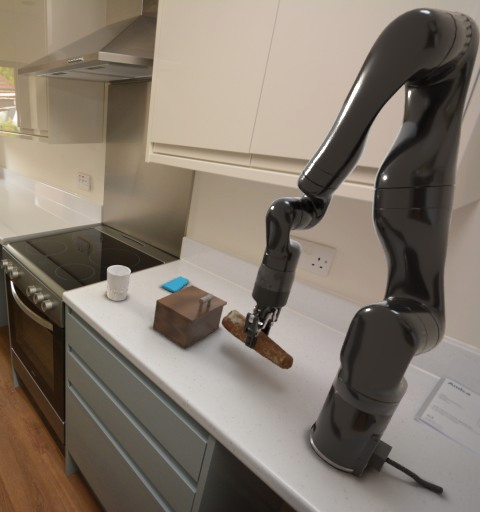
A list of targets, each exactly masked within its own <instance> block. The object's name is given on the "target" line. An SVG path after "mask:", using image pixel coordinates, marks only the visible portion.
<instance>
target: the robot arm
mask: <svg viewBox="0 0 480 512" xmlns="http://www.w3.org/2000/svg"><path fill="white" fill-rule="evenodd" d="M479 47H480V27H479V25H478V22H477V20H476V19H474V18H473V17H472V16H471V15H469V14H466V13H463V12H459V11H452V10H445V9H439V8H433V7H417V8H413V9H410V10H407V11H406V12H403V13H401V14H399V15H398V16H396V18H394V19H393V20H392V21H390V22H389V23H388V24H387V25H386V26H385V27H384V29H383V30H382V31H381V32H380V33H379V35H378V36H377V38H376V40H374V42H373V44H372V46H371V48H370V49H369V51H368V53H367V55H366V57H365V59H364V60H363V63H362V65H361V67H360V69H359V71H358V73H357V75H356V77H355V79H354V82H353V84H351V87H350V88H349V91H348V93H347V95H346V97H345V99H344V101H343V103H342V105H341V106H340V109H339V111H338V113H337V115H336V117H335V119H334V121H333V123H332V125H331V127H330V129H329V130H328V132H327V134H326V135H325V137H324V139H323V140H322V142H321V143H320V145H319V146H318V148H317V150H315V152H314V153H313V155H312V157H311V158H310V159H309V161H308V162H307V163H306V165H305V166H304V168H303V170H302V171H301V173H300V174H299V176H298V177H297V180H296V185H297V188H298V189H299V191H300V192H302V193H303V194H302V195H301V196H300V197H299V196H297V197H294V196H293V197H289V196H288V197H279V198H276V199H274V200H273V201H272V202H271V203H270V204H269V206H268V208H267V210H266V212H265V247H264V252H263V256H262V258H261V259H262V260H261V263H260V264H259V265H260V266H259V267H258V271H257V273H256V278H255V281H254V284H253V288H252V293H251V297H252V299H253V301H255V305H254V307H253V309H252V313H251V312H247V313H246V315H245V317H246V321H245V326H244V331H243V333H245V334H247V338H246V341H245V343H244V345H245V347H247V348H248V349H250V350H253V348H255V345H256V341H257V338H258V336H259V333H260V331H263V332H264V333H265V334H266V335H267V336H268V337H269V335H270V331H271V329H272V327H274V324H275V323H277V322H278V319H279V316H280V314H281V311H282V310H283V309H282V308H284V307H286V305H287V304H288V300H289V297H290V294H291V291H292V288H293V285H294V281H295V277H296V272H297V268H298V265H299V261H300V258H301V256H302V250H303V248H302V244H301V243H300V242H298V241H296V240H294V239H291V232H295V231H297V232H298V231H309V230H311V229H314V228H315V227H316V226H318V225H319V224H320V223H321V222H322V221H323V219H324V218H325V216H326V214H327V212H328V209H329V207H330V205H331V203H332V201H333V198H334V196H335V193H336V192H337V191H338V189H339V188H340V187H341V186H342V185H343V184H344V182H345V181H346V180H347V179H348V177H350V175H351V174H352V173H353V171H354V170H355V169H356V167H357V166H358V165H359V163H360V161H361V159H362V157H363V155H364V154H365V153H364V152H365V150H366V147H367V144H368V140H369V137H370V133H371V131H372V128H373V126H374V123H375V121H376V120H377V118H378V116H379V115H380V113H381V112H382V110H383V109H384V107H385V106H386V105H387V103H389V102H390V100H391V99H392V98H393V97H394V95H396V93H398V91H400V89H401V88H402V87H404V103H403V104H404V105H403V115H402V121H401V123H400V128H399V130H398V133H397V135H396V137H395V138H394V141H393V142H392V144H391V146H390V148H389V150H388V151H387V152H386V155H385V156H384V158H383V159H382V161H381V163H380V166H379V167H378V169H377V172H376V174H375V178H374V183H373V191H372V192H373V193H372V195H373V196H372V205H371V207H372V208H371V218H372V225H373V228H374V232H375V235H376V237H377V239H378V242H379V244H380V246H381V249H382V251H383V254H384V257H385V262H386V266H387V269H386V270H387V272H386V273H387V274H386V275H387V276H386V285H385V291H384V296H383V299H382V300H381V301H376V302H373V303H369V304H366V305H364V306H362V307H361V308H360V309H358V310H357V311H356V312H355V314H354V315H353V317H352V319H351V321H350V323H349V325H348V328H347V330H346V334H345V337H344V339H343V342H342V345H341V348H340V351H339V363H340V364H339V367H338V370H337V372H336V375H335V376H334V379H333V381H332V383H331V385H330V388H329V391H328V393H327V395H326V397H325V400H324V402H323V405H322V407H321V409H320V411H319V414H318V416H317V419H316V421H314V423H313V424H312V426H311V427H310V434H309V442H310V445H311V447H312V449H313V450H314V452H315V453H316V454H317V455H318V456H319V457H320V458H321V459H322V460H323V461H325V462H326V463H327V464H329V465H330V466H332V467H334V468H335V469H338V470H340V471H342V472H345V473H351V474H352V475H355V476H356V477H358V478H360V477H361V476H362V474H363V472H364V470H366V468H367V466H369V467H371V468H373V469H374V470H376V471H377V472H379V473H380V472H381V470H382V468H383V467H384V465H385V464H388V465H389V466H392V467H394V468H395V469H397V470H398V471H400V472H402V473H403V474H405V475H407V476H408V477H410V478H411V479H413V480H414V481H415V482H416V483H417V484H419V485H421V486H423V487H425V488H427V489H430V490H432V491H435V492H438V493H440V494H443V492H444V488H443V487H442V486H439V485H436V484H435V483H431V482H429V481H427V480H425V479H423V478H421V477H420V476H419V475H418V474H416V473H415V472H413V471H412V470H410V469H409V468H407V467H405V466H404V465H402V464H400V463H398V462H396V461H395V460H393V459H392V458H390V457H389V455H390V453H391V451H392V449H393V446H391V445H390V444H388V443H387V442H385V441H383V440H381V439H382V437H383V435H384V434H385V431H386V429H387V428H388V426H389V424H390V422H391V420H392V418H393V416H394V414H395V413H396V411H397V408H398V406H399V405H400V403H401V402H402V400H403V398H404V397H405V394H406V393H407V391H408V387H409V386H408V380H407V379H406V376H405V374H406V372H407V369H408V368H409V366H410V363H411V361H412V360H413V359H414V357H417V356H421V355H423V354H426V353H428V352H431V351H433V350H434V349H436V348H438V347H439V345H440V344H441V343H442V341H443V340H444V338H445V335H446V330H447V329H446V327H447V319H446V318H447V317H446V316H447V315H446V314H447V313H446V293H445V275H446V273H445V272H446V262H447V257H448V251H449V243H450V242H449V241H450V233H451V224H452V219H453V212H454V205H455V196H456V187H457V186H456V185H457V170H458V162H459V153H460V147H461V146H460V145H461V136H462V126H463V116H464V112H465V111H464V110H465V106H466V102H467V97H468V93H469V89H470V85H471V81H472V77H473V73H474V68H475V65H476V61H477V57H478V52H479ZM260 323H261V324H260ZM257 327H258V329H257Z"/></svg>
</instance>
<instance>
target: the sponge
mask: <svg viewBox="0 0 480 512" xmlns="http://www.w3.org/2000/svg"><path fill="white" fill-rule="evenodd" d="M189 281H190V280H189V279H188V278H186V277H183V276H178V277H176V278H174V279H172V280H170V281H168V282H167V281H166V282H165V283H163V284H162V285H161V288H163V289H165V290H166V291H170V292H172V293H175V292H177V291H179V290H182V289H183V288H184V287H185V286H186V285H187V284H188V283H189Z"/></svg>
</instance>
